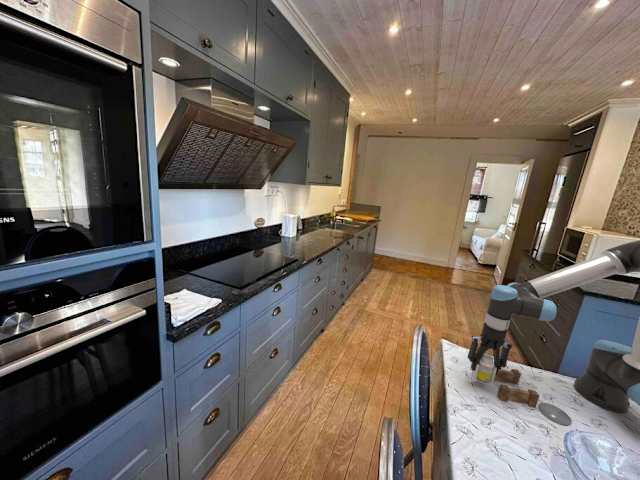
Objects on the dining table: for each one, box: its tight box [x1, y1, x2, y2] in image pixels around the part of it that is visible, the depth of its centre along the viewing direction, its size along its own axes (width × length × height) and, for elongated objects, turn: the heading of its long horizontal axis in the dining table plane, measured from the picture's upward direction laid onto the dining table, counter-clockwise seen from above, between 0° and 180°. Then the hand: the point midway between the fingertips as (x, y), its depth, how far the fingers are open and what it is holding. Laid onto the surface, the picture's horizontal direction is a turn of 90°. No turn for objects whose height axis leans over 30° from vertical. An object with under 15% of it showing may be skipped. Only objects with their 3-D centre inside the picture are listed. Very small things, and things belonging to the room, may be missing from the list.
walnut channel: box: [493, 368, 540, 409], centre depth 102 cm, size 12×14×5 cm
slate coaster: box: [537, 402, 573, 427], centre depth 93 cm, size 9×9×1 cm
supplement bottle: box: [476, 353, 494, 385], centre depth 103 cm, size 6×6×10 cm
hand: (481, 378), depth 104 cm, fingers closed on supplement bottle, 6 cm apart
